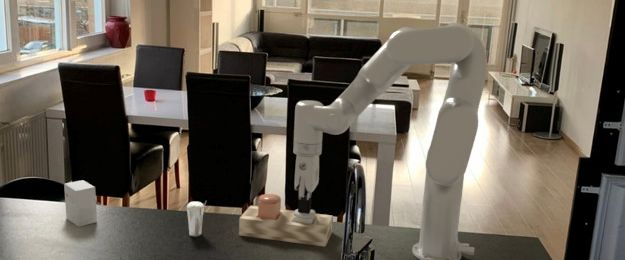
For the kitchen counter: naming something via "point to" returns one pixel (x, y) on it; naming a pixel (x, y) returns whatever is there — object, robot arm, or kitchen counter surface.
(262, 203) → the terracotta button
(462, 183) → the robot arm
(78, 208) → the small box
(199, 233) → the milkshake
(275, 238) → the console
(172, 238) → the kitchen counter surface
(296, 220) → the grey button
